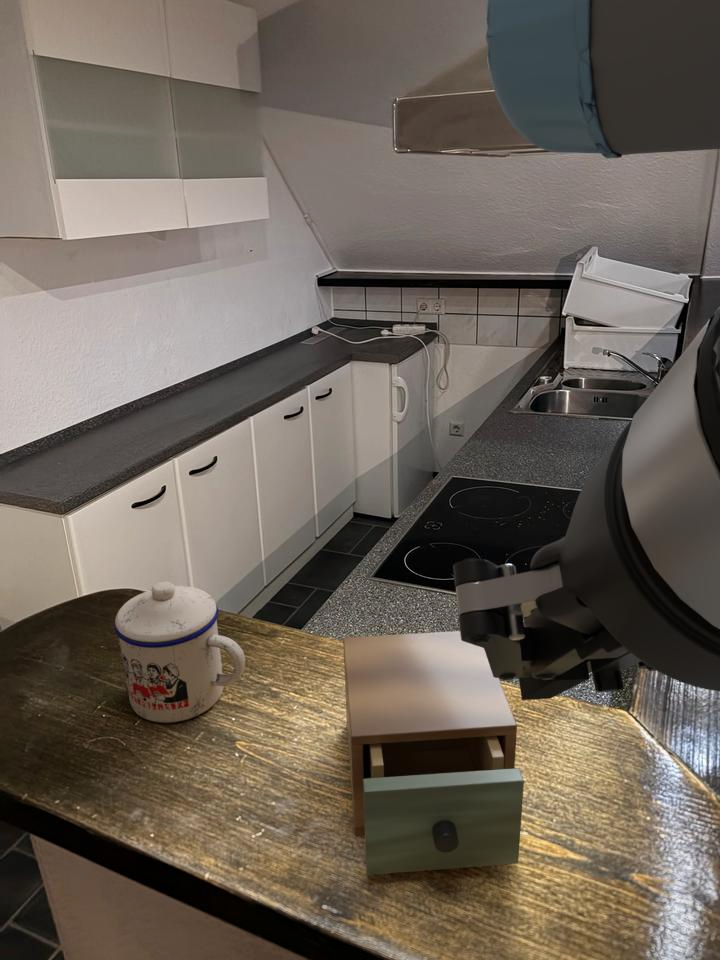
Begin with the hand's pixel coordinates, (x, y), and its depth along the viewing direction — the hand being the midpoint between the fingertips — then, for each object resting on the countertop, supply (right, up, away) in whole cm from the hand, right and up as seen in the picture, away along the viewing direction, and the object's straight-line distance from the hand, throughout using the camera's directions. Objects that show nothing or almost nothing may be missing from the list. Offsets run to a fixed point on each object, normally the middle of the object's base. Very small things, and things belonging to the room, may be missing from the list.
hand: (532, 672), depth 39 cm
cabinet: (-4, -14, +22) cm, 26 cm away
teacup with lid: (-25, -10, +32) cm, 42 cm away
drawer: (-4, -15, +17) cm, 23 cm away
